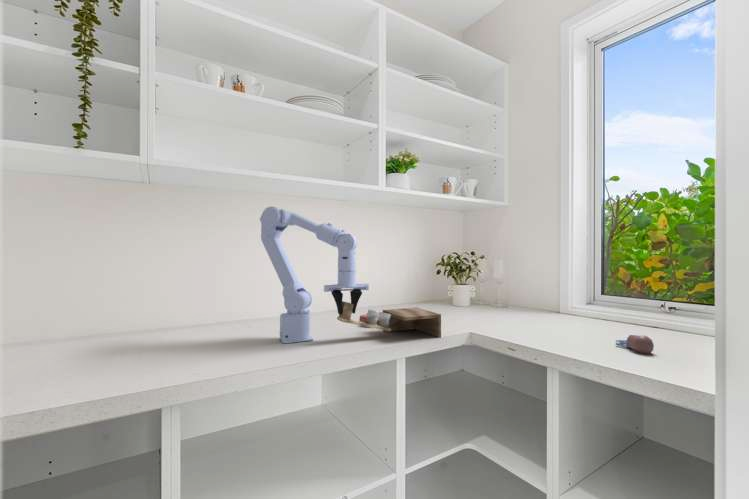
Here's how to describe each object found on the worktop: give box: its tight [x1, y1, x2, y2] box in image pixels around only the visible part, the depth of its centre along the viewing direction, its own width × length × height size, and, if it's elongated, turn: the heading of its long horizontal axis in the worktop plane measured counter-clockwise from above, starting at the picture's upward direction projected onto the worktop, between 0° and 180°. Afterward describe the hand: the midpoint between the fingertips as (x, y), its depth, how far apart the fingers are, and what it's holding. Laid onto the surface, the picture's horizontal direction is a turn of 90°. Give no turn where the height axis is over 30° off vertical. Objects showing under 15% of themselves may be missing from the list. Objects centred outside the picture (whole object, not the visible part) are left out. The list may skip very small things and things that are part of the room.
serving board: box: [336, 300, 392, 332], centre depth 111 cm, size 18×5×6 cm, turn 112°
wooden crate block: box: [382, 307, 442, 339], centre depth 117 cm, size 14×16×8 cm
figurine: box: [614, 334, 655, 355], centre depth 99 cm, size 5×5×12 cm
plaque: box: [359, 311, 383, 329], centre depth 137 cm, size 18×4×15 cm
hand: (346, 313), depth 109 cm, fingers closed on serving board, 4 cm apart
